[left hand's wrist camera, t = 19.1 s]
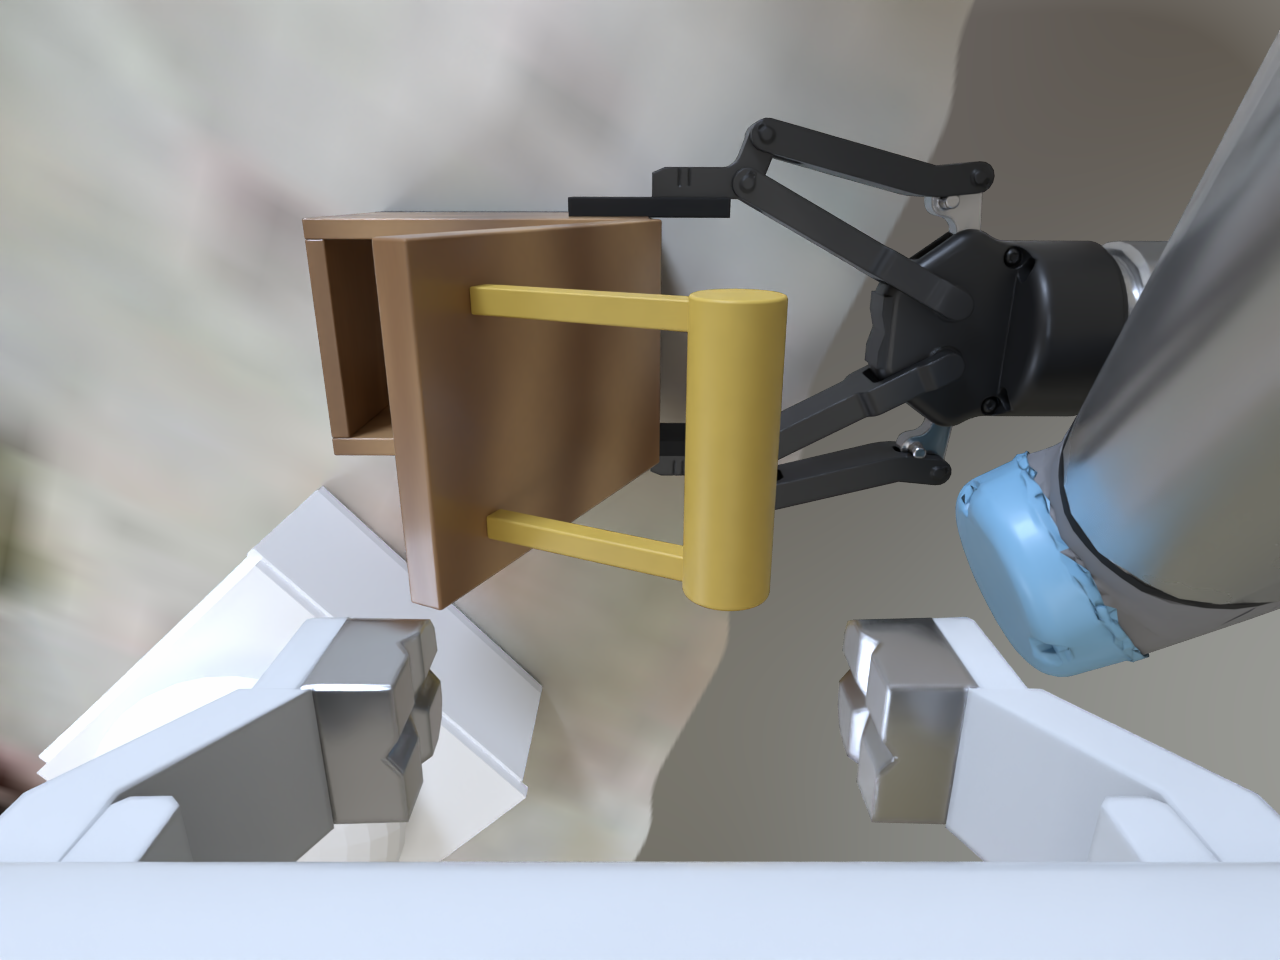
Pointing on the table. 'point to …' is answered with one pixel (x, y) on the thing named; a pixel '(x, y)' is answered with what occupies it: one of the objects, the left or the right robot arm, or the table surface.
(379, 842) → the butter dish
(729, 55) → the table surface
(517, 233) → the lid
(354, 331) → the chest
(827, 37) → the table surface
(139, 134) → the table surface
